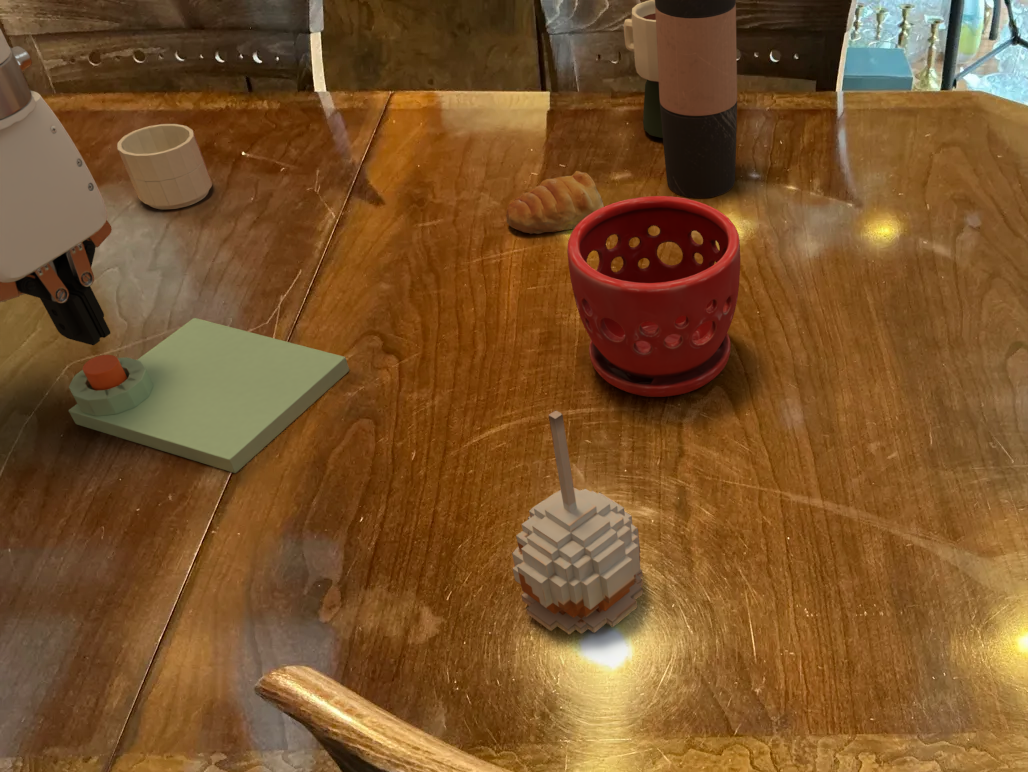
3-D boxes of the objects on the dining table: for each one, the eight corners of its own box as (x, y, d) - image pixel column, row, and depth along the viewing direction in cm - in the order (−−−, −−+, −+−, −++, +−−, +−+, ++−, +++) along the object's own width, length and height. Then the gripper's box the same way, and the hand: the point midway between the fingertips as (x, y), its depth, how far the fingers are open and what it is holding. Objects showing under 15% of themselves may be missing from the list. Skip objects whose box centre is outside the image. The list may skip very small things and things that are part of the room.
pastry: (524, 247, 103) (518, 210, 101) (496, 218, 107) (490, 182, 105) (611, 220, 107) (607, 183, 104) (581, 194, 111) (576, 158, 108)
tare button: (84, 388, 84) (74, 369, 83) (109, 369, 86) (100, 351, 84) (109, 395, 83) (100, 377, 82) (134, 376, 85) (125, 358, 84)
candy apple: (586, 535, 75) (559, 357, 64) (667, 588, 71) (652, 409, 61) (500, 599, 71) (457, 420, 60) (582, 658, 67) (550, 479, 57)
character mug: (729, 130, 121) (727, 7, 112) (694, 154, 117) (689, 29, 107) (649, 109, 125) (642, -10, 116) (613, 132, 121) (602, 10, 112)
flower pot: (551, 362, 90) (531, 232, 81) (675, 305, 96) (668, 177, 87) (646, 437, 82) (635, 302, 74) (773, 370, 88) (776, 238, 80)
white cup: (125, 204, 111) (101, 148, 107) (175, 174, 115) (154, 119, 111) (180, 217, 109) (157, 160, 104) (228, 185, 113) (208, 130, 109)
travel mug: (706, 158, 116) (700, -44, 102) (752, 183, 112) (753, -24, 97) (649, 180, 112) (635, -26, 98) (695, 207, 108) (687, -5, 94)
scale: (68, 422, 85) (51, 391, 83) (193, 329, 94) (180, 299, 92) (235, 473, 80) (221, 442, 78) (350, 370, 89) (340, 340, 87)
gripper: (14, 44, 74) (124, 278, 87) (-188, 133, 65) (-30, 381, 78) (95, 58, 72) (196, 295, 85) (-101, 152, 63) (46, 403, 75)
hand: (88, 335), depth 81 cm, fingers closed
